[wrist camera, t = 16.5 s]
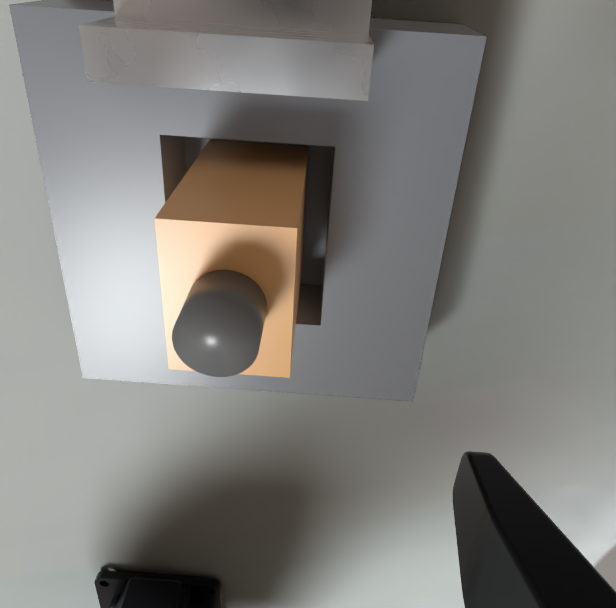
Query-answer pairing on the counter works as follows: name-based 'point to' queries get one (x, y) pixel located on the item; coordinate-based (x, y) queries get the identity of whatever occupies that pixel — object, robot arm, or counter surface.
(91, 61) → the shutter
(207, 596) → the robot arm
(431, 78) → the socket
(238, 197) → the plug
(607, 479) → the counter surface
